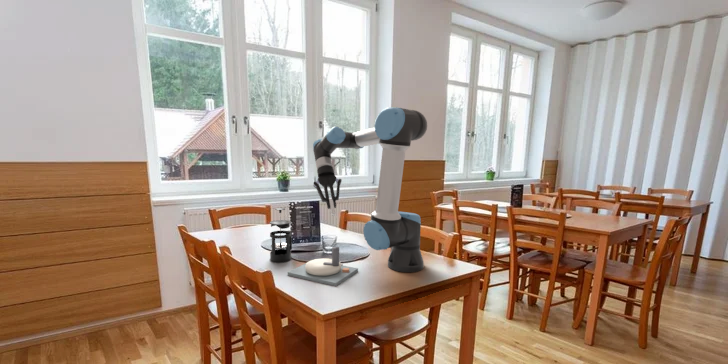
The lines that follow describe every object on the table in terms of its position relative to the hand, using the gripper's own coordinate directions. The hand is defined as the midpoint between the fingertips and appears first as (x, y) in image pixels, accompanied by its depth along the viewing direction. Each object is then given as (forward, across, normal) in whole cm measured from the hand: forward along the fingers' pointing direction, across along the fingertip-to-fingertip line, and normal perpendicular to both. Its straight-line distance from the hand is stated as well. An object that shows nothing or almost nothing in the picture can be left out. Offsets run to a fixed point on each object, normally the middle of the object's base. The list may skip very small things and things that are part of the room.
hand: (333, 214), depth 140 cm
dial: (+21, +7, -3) cm, 23 cm away
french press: (+9, +24, -20) cm, 32 cm away
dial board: (+23, +8, -4) cm, 24 cm away
